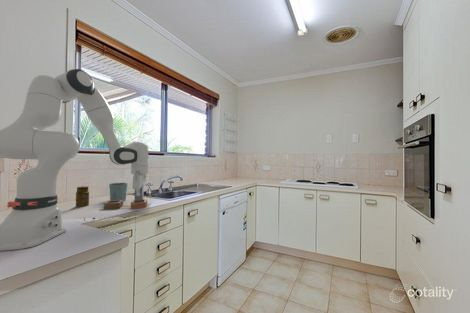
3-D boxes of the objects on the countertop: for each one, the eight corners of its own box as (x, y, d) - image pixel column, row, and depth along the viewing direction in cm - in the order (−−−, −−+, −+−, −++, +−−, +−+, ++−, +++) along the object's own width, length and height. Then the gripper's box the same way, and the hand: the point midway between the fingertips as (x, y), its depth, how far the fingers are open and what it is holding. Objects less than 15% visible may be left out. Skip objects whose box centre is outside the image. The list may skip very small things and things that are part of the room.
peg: (142, 204, 121) (142, 184, 121) (134, 204, 120) (134, 184, 120) (143, 202, 125) (143, 183, 125) (135, 203, 124) (136, 183, 124)
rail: (148, 210, 118) (148, 202, 118) (98, 213, 112) (98, 204, 112) (150, 205, 130) (151, 198, 130) (106, 207, 124) (106, 199, 124)
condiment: (89, 206, 127) (89, 185, 127) (90, 209, 120) (91, 187, 120) (73, 208, 122) (73, 186, 122) (74, 211, 115) (74, 188, 115)
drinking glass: (106, 204, 131) (106, 184, 131) (111, 201, 141) (112, 182, 141) (124, 204, 134) (125, 184, 134) (128, 200, 143) (129, 182, 143)
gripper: (142, 171, 114) (142, 198, 114) (148, 169, 133) (147, 191, 133) (129, 171, 112) (129, 198, 112) (136, 169, 132) (136, 191, 132)
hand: (139, 194), depth 123 cm, fingers closed on peg, 4 cm apart
